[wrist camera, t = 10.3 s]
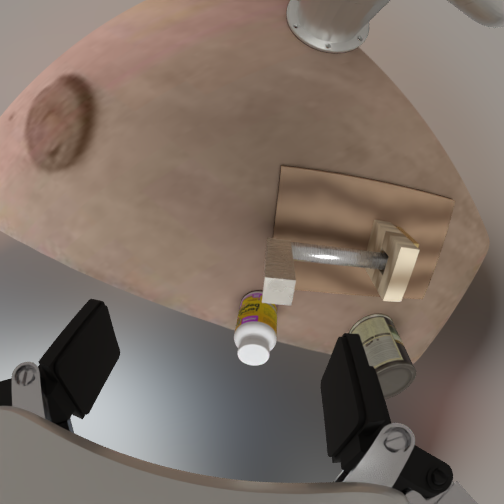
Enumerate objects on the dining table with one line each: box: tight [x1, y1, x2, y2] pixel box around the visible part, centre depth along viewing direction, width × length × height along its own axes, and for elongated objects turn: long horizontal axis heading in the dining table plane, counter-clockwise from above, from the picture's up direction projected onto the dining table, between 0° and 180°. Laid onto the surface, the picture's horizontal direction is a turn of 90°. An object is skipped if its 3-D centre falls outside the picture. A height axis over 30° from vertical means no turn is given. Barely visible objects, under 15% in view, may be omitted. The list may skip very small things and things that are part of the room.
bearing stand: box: [273, 165, 455, 302], centre depth 37 cm, size 20×31×12 cm, turn 85°
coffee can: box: [350, 314, 416, 399], centre depth 45 cm, size 10×10×14 cm
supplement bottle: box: [234, 291, 277, 365], centre depth 44 cm, size 7×7×13 cm
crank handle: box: [262, 238, 389, 305], centre depth 32 cm, size 18×3×11 cm, turn 85°
